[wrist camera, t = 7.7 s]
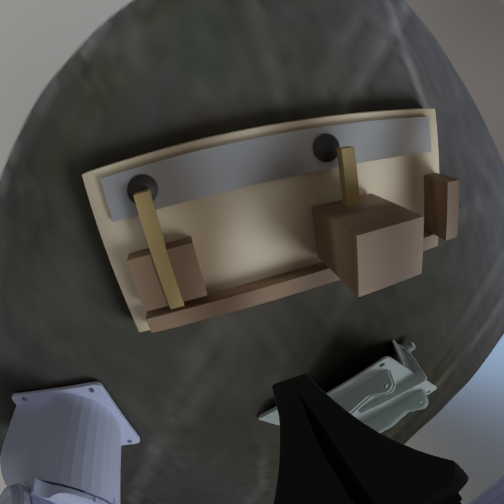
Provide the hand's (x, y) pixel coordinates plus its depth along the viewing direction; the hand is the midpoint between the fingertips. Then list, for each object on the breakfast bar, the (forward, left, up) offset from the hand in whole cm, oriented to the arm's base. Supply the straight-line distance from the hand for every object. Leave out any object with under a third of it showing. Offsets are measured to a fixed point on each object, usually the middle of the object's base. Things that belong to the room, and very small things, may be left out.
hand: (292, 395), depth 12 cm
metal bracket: (+8, -16, -11) cm, 21 cm away
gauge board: (+4, +4, -10) cm, 11 cm away
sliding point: (+7, +4, -8) cm, 12 cm away
